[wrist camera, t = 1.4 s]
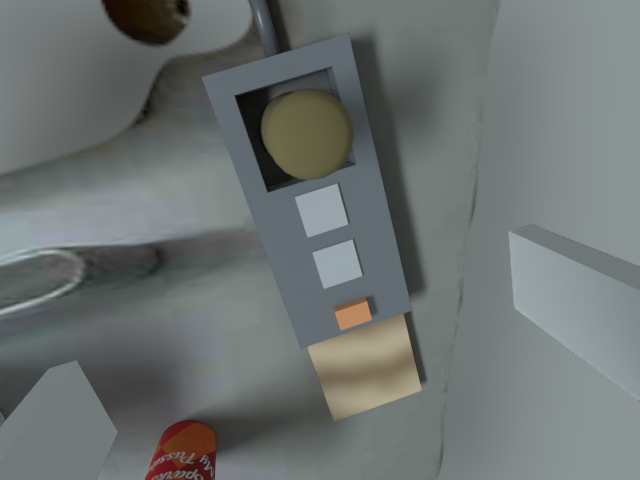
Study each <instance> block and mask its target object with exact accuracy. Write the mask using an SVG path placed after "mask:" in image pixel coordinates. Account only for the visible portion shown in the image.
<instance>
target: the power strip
mask: <svg viewBox="0 0 640 480" xmlns="http://www.w3.org/2000/svg"><path fill="white" fill-rule="evenodd" d="M249 2H250V6H251V9H252V12H253V16H254V19H255V22H256V25H257V29H258V32H259V35H260V39H261V42H262V45H263V48H264V52H265V55H266V58H264V59H261V60H257V61H254V62H251V63H247V64H244V65H241V66H237V67H234V68H231V69H227V70H224V71H220V72H217V73H214V74H210V75H207V76H204V77H202V79H203V82H204V85H205V88H206V90H207V93H208V96H209V99H210V101H211V104H212V107H213V110H214V112H215V115H216V118H217V120H218V123H219V126H220V129H221V131H222V134H223V137H224V140H225V142H226V145H227V148H228V151H229V153H230V156H231V159H232V162H233V164H234V167H235V170H236V173H237V175H238V178H239V181H240V183H241V186H242V189H243V192H244V194H245V197H246V200H247V203H248V205H249V208H250V211H251V214H252V216H253V219H254V222H255V225H256V227H257V230H258V233H259V235H260V238H261V241H262V244H263V246H264V249H265V252H266V255H267V257H268V260H269V263H270V266H271V268H272V271H273V274H274V277H275V279H276V282H277V285H278V288H279V290H280V293H281V296H282V298H283V301H284V304H285V307H286V309H287V312H288V315H289V318H290V320H291V323H292V326H293V329H294V331H295V334H296V337H297V340H298V342H299V345H300V348H301V349H302V348H305V347H308V346H311V345H314V344H316V343H319V342H322V341H325V340H328V339H331V338H334V337H337V336H340V335H343V334H346V333H348V332H351V331H354V330H357V329H360V328H363V327H366V326H369V325H372V324H375V323H377V322H380V321H383V320H386V319H389V318H392V317H395V316H398V315H401V314H404V313H407V312H409V311H412V308H411V304H410V299H409V295H408V291H407V286H406V282H405V277H404V273H403V269H402V264H401V260H400V256H399V251H398V247H397V242H396V238H395V234H394V229H393V225H392V221H391V216H390V212H389V207H388V203H387V199H386V194H385V190H384V186H383V181H382V177H381V172H380V168H379V164H378V159H377V155H376V151H375V146H374V142H373V137H372V133H371V129H370V124H369V120H368V116H367V111H366V107H365V102H364V98H363V94H362V89H361V85H360V81H359V76H358V72H357V67H356V63H355V59H354V54H353V50H352V46H351V41H350V37H349V34H345V35H342V36H338V37H335V38H332V39H328V40H325V41H322V42H318V43H315V44H311V45H308V46H305V47H301V48H298V49H295V50H291V51H288V52H284V53H281V50H280V47H279V43H278V40H277V36H276V33H275V29H274V26H273V22H272V19H271V15H270V12H269V9H268V5H267V2H266V0H249ZM325 70H326V71H327V75H328V78H329V82H330V86H331V90H332V94H333V96H334V97H336V98H337V99H338V100H339V101H340V102H341V103H342V104H343V106H344V107H345V108H346V109H347V111H348V114H349V116H350V118H351V120H352V124H353V133H354V139H353V144H352V150H351V152H350V154H349V156H348V157H349V161H348V162H345V163H344V164H343V165H342V166H341V167H340V168H339V169H338V170H337V171H336V172H334V173H332V174H330V175H329V176H327V177H325V178H321V179H315V180H305V179H298V178H295V179H292V180H288V181H285V182H282V183H279V184H276V185H273V186H269V187H267V186H266V183H265V180H264V178H263V175H262V172H261V169H260V166H259V163H258V160H257V157H256V154H255V151H254V148H253V145H252V142H251V139H250V137H249V134H248V131H247V128H246V125H245V122H244V119H243V116H242V113H241V110H240V107H239V104H238V101H237V98H236V97H238V96H242V95H245V94H248V93H252V92H255V91H258V90H261V89H265V88H268V87H271V86H275V85H278V84H281V83H285V82H288V81H291V80H295V79H298V78H301V77H305V76H308V75H311V74H315V73H318V72H321V71H325Z"/></svg>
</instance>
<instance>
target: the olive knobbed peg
mask: <svg viewBox="0 0 640 480" xmlns="http://www.w3.org/2000/svg"><path fill="white" fill-rule="evenodd" d="M259 135H260V140H261V144H262V145H263V147H264V149H265V151H266V153H267V154H268V155H269V156H270V157H271V158H272V159H273V160H274V161H275V162H276V164H277V165H278V166H279V167H281V168H282V169H283V170H284V171H285V172H286V173H288V174H290V175H292V176H294V177H296V178H298V179H305V180H315V179H321V178H325V177H327V176H329V175H330V174H332V173H334V172H336V171H337V170H338V169H339V168H340V167H341V166H342V165H343V164H344V163H345V162H346V160H347V158H348V156H349V154H350V152H351V150H352V144H353V139H354V133H353V124H352V120H351V118H350V116H349V114H348V111H347V109H346V108H345V107H344V106H343V104H342V103H341V102H340V101H339V100H338V99H337V98H336V97H334V96H332V95H330V94H329V93H327V92H325V91H321V90H315V89H305V90H299V91H295V92H288V93H283V94H281V95H279V96H277V97H275V98H274V99H272V100H271V101H270V103H269V104H268V105H267V106H266V107H265V108H264V111H263V113H262V115H261V117H260V122H259Z"/></svg>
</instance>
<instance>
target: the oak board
mask: <svg viewBox="0 0 640 480" xmlns="http://www.w3.org/2000/svg"><path fill="white" fill-rule="evenodd" d="M307 348H308V350H309V353H310V356H311V359H312V362H313V364H314V367H315V370H316V373H317V376H318V378H319V381H320V384H321V387H322V390H323V392H324V395H325V398H326V401H327V404H328V406H329V409H330V412H331V415H332V418H333V420H334V422H335V421H338V420H341V419H343V418H346V417H349V416H352V415H355V414H357V413H360V412H363V411H366V410H369V409H371V408H374V407H377V406H380V405H383V404H385V403H388V402H391V401H394V400H397V399H399V398H402V397H405V396H408V395H411V394H413V393H416V392H419V391H422V389H421V385H420V381H419V377H418V372H417V368H416V364H415V360H414V356H413V351H412V347H411V343H410V339H409V335H408V331H407V326H406V322H405V318H404V314H401V315H398V316H395V317H392V318H389V319H386V320H383V321H380V322H377V323H375V324H372V325H369V326H366V327H363V328H360V329H357V330H354V331H351V332H348V333H346V334H343V335H340V336H337V337H334V338H331V339H328V340H325V341H322V342H319V343H316V344H314V345H311V346H308V347H307Z"/></svg>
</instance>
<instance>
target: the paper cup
mask: <svg viewBox="0 0 640 480" xmlns="http://www.w3.org/2000/svg"><path fill="white" fill-rule="evenodd" d="M215 462H216V437H215V434H214V432H213V431H212V429H211V428H210V427H208V426H207V425H205V424H203V423H201V422H197V421H183V422H179V423H176V424H174V425H172V426H171V427H169V428H168V429H167V430H166V431H165V432H164V434H163V436H162V437H161V440H160V442H159V444H158V447H157V449H156V452H155V454H154V457H153V459H152V462H151V465H150V467H149V470H148V472H147V475H146V478H145V480H215Z"/></svg>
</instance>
